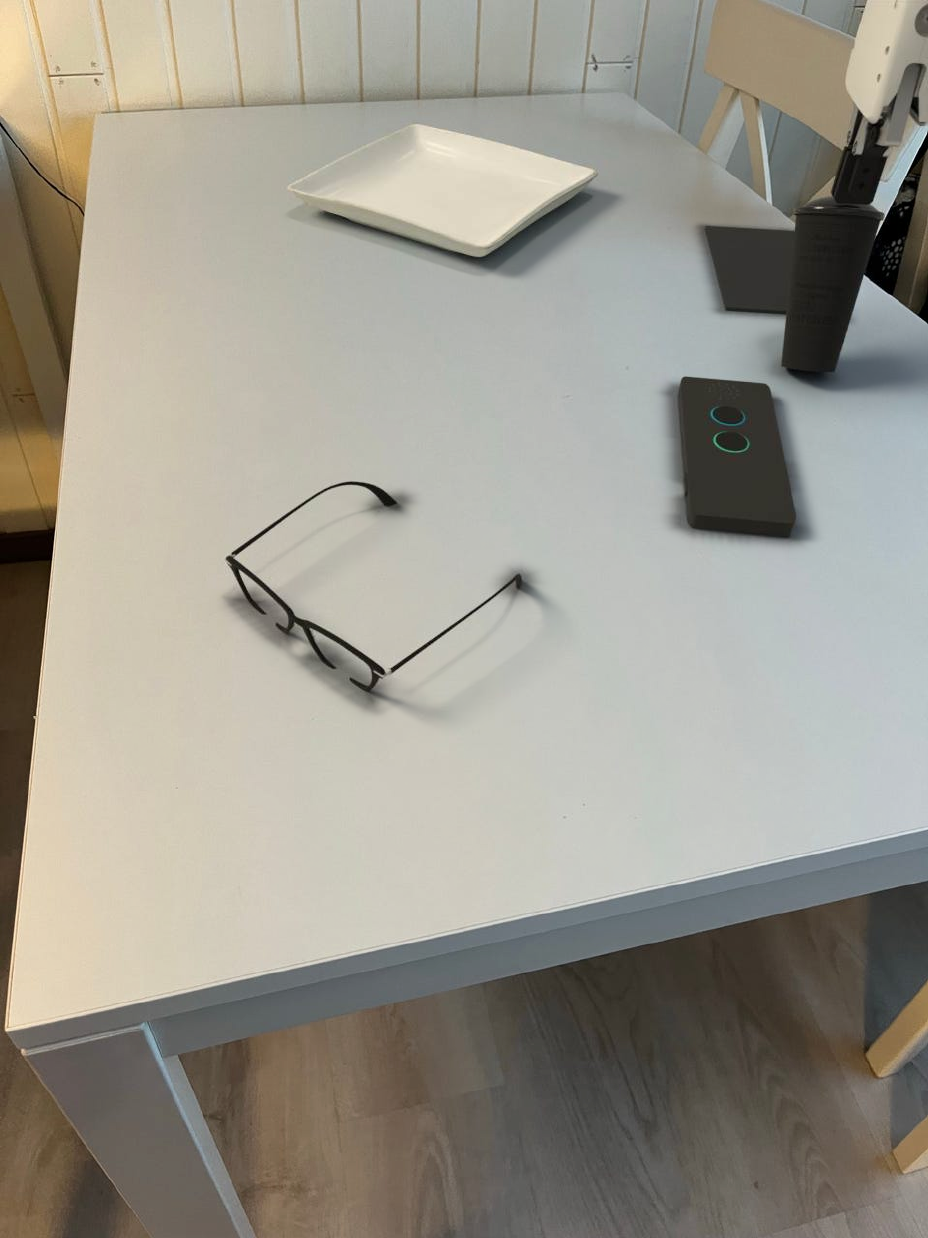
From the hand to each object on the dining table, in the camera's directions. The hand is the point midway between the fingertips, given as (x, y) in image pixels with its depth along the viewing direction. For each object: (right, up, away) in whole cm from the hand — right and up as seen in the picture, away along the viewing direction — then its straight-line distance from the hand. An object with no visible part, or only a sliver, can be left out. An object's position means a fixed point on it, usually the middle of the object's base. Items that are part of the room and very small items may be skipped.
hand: (850, 199), depth 81 cm
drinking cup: (-1, -12, +8) cm, 15 cm away
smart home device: (-10, -22, 0) cm, 24 cm away
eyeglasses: (-39, -34, -13) cm, 53 cm away
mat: (+1, +3, +25) cm, 25 cm away
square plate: (-35, +14, +34) cm, 51 cm away
